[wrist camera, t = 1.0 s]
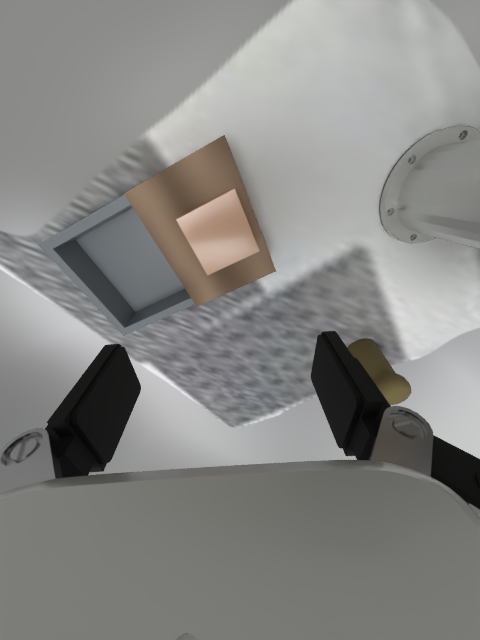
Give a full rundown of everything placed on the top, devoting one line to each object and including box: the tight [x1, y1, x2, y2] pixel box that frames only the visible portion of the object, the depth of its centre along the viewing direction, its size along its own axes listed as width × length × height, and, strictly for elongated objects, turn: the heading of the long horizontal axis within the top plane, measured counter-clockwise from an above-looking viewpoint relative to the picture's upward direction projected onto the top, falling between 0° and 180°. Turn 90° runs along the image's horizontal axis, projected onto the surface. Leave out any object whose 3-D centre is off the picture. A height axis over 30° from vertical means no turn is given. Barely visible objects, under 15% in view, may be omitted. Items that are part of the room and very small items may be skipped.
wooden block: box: [124, 135, 276, 306], centre depth 27 cm, size 11×14×6 cm
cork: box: [347, 339, 411, 405], centre depth 38 cm, size 6×6×11 cm
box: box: [39, 195, 195, 336], centre depth 29 cm, size 12×14×5 cm
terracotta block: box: [176, 188, 259, 275], centre depth 23 cm, size 6×6×3 cm
